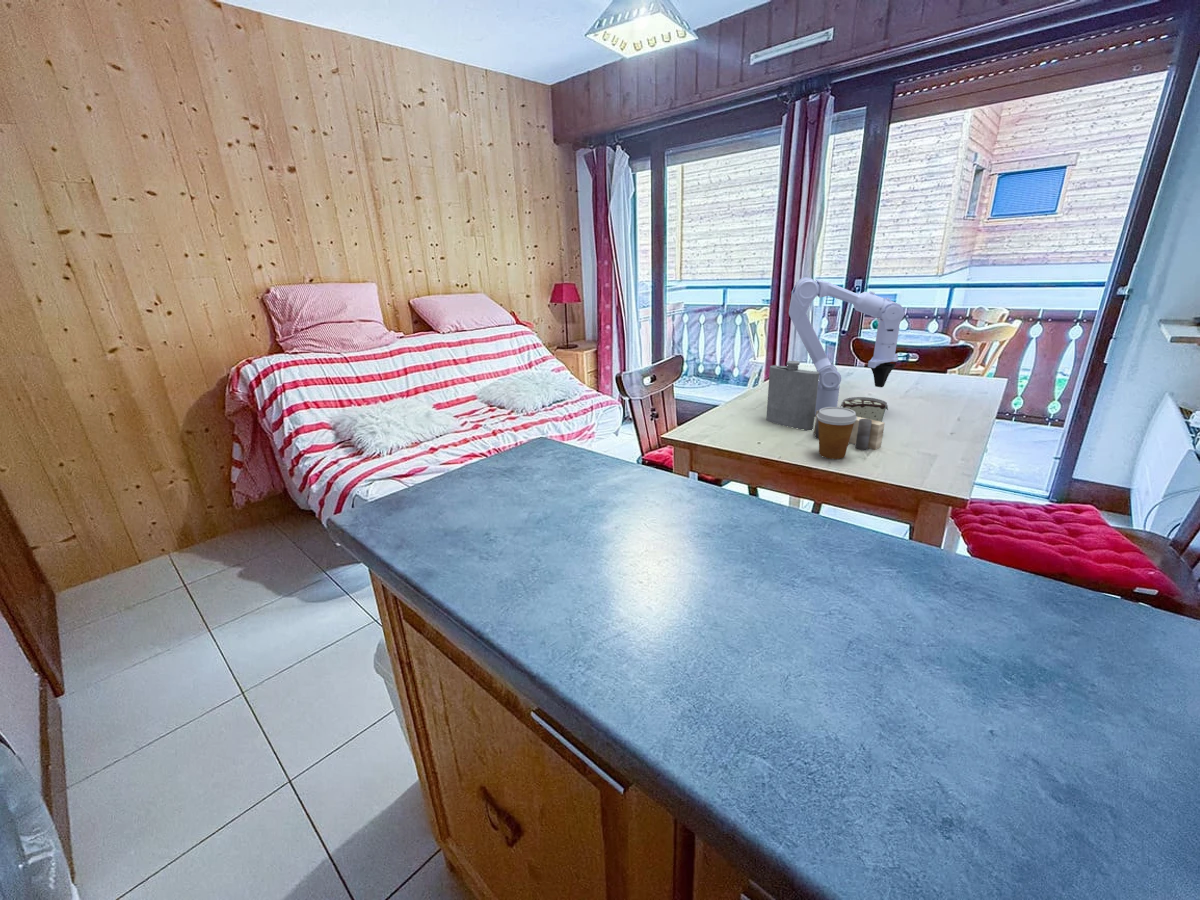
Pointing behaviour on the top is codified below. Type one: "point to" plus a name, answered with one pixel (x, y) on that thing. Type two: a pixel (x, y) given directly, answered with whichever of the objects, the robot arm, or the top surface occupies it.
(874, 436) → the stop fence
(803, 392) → the hip flask
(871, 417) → the food container
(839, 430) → the disposable coffee cup
